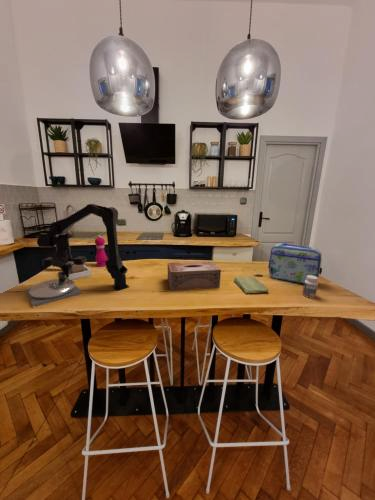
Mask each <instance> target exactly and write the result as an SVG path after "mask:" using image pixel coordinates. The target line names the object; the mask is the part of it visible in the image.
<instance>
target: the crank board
mask: <svg viewBox="0 0 375 500" xmlns="http://www.w3.org/2000/svg"><path fill="white" fill-rule="evenodd" d="M69 280H70V279H69ZM29 290H30V288H25V293H26V295H27V297H28V299H29V301H30V303H31V306H32V307H33V306H36V307H38V306H37V305H39V306H42V305H41V304H43V305H46V304H49V303H53V302H56V301H59V300H64V299H68V298H70V297H75V296H78V295H83V294H82V293H83V291H82V290H81V289H80V288H79V287H78V285H76V284H75V288H74V289H73V290H72V291H71V292H69V293H67V294H65V295H63V296H59V297H55V298H50V299H35V298H32V297H31V296H30V293H29ZM45 303H46V304H45Z"/></svg>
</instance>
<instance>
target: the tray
mask: <svg viewBox="0 0 375 500" xmlns="http://www.w3.org/2000/svg"><path fill="white" fill-rule="evenodd" d="M89 276H93V270H92V269H91V268H89V267H88V266H87V265H85V264H84V271H83V272H78V273H74V274H69V277H66V275H65V278H66V279H70V280H72V281H74V280H77V279H81V278H86V277H89Z"/></svg>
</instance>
